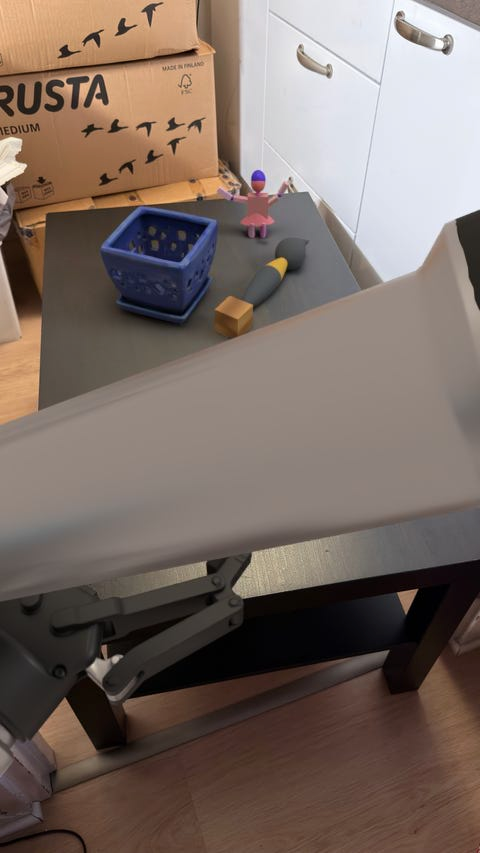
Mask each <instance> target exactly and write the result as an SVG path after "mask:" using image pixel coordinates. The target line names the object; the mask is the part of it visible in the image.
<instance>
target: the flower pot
mask: <svg viewBox="0 0 480 853" xmlns="http://www.w3.org/2000/svg"><path fill="white" fill-rule="evenodd" d="M218 224H219V223H218V220H216V219H212V218H208V217H205V216H198V215H196V214H189V213H185V212H181V211H177V210H168V209H164V208H158V207H152V206H144V205H141V206H138V207H136V209H135V210H133V211H132V212H131V213H130V214H129V215H128V216H127V217H126V218H125V219H124V220H123V221H122V222H121V223H120V225H119V226H117V228H116V229H115V230H114V231H113V232H112V233H111V234H110V235H109V236H108V237H107V238H106V240H105V241H104V242H103V243H102V245H101V246H100V250H99V251H100V254H101V255H100V256H101V259H102V262H103V264H104V267H105V270H106V272H107V274H108V277H109V278H110V280H111V282H112V284H113V285H114V286H115V288H116V289H117V291H118V292H119V293H120V295H119V297H118V298H117V299H116V301H115V304H116V305H117V307H119V308H121V309H122V310H125V311H128V312H131V313H135V314H138V315H142V316H147V317H150V318H155V319H158V320H162V321H167V322H171V323H175V324H183V323H184V322H185V321H186V320H187V319H188V317H189V316H190V315H191V314H192V312H193V311H194V309H195V308H196V306H197V305H198V304H199V302H200V301H201V300H202V298H203V297H204V295H205V293H206V292H207V290H208V289H209V288H210V286H211V284H212V282H213V277H212V276H211V275H209V273H210V270H211V268H212V265H213V262H214V258H215V254H216V251H217V250H216V249H217V242H218V232H219V231H218V230H219V229H218V228H219V227H218V226H219V225H218ZM150 227H151V228H153V229H154V230H155V233H152V232H151V231H150ZM179 232H184V233H185V234H184V235H185V238H181V237H180V236H179ZM162 233H163V235H165V237H163V235H162ZM152 241H156V242H157V243H158V248H156V247H153V243H152ZM173 244H175V248H174V247H173V246H172V245H173ZM130 245H132V248H131V246H130ZM189 245H192V247H191V248H189ZM139 248H140V250H139Z"/></svg>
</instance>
